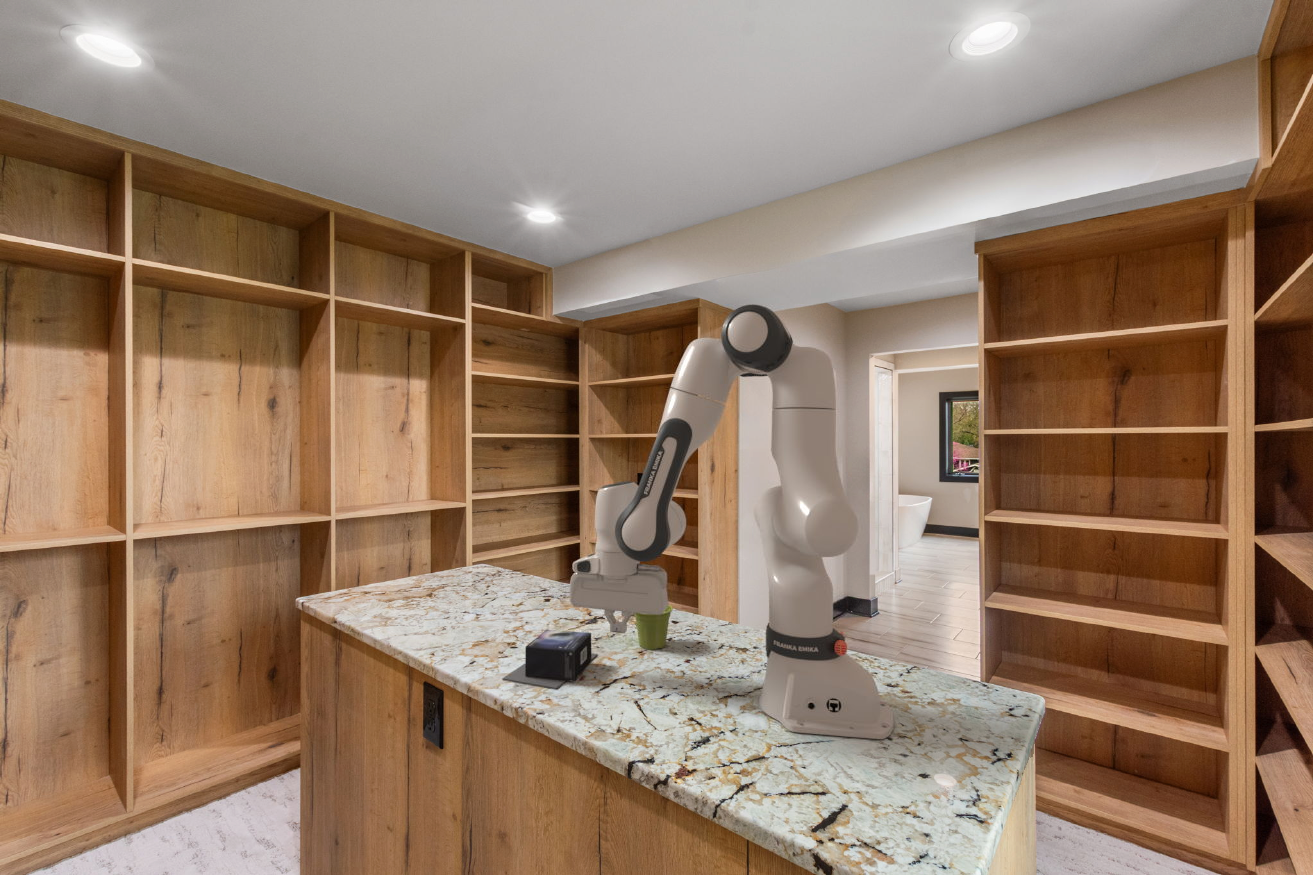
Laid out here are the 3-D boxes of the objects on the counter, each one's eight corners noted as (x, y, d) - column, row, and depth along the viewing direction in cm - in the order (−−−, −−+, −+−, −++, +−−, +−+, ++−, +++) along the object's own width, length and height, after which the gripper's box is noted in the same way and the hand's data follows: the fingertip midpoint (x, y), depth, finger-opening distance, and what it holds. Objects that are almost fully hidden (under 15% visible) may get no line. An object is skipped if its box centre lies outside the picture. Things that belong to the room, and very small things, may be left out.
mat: (597, 655, 124) (597, 654, 124) (556, 689, 108) (556, 687, 108) (549, 648, 129) (549, 646, 129) (502, 679, 112) (502, 678, 112)
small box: (574, 648, 110) (523, 645, 112) (574, 682, 110) (524, 678, 112) (591, 630, 120) (545, 627, 122) (592, 661, 120) (545, 658, 122)
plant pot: (626, 650, 127) (626, 612, 127) (638, 636, 137) (638, 600, 137) (667, 654, 125) (667, 615, 125) (676, 640, 134) (676, 603, 134)
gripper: (672, 562, 113) (672, 632, 113) (579, 556, 120) (580, 622, 120) (661, 569, 107) (662, 643, 107) (565, 562, 114) (566, 631, 114)
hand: (618, 631), depth 114 cm, fingers closed
